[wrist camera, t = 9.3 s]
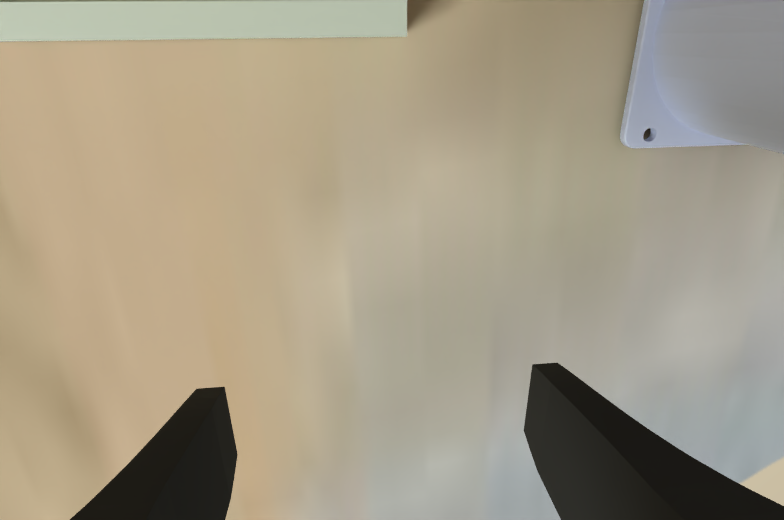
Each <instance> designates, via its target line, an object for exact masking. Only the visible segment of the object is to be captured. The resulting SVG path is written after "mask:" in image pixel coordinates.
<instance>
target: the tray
mask: <svg viewBox="0 0 784 520" xmlns="http://www.w3.org/2000/svg"><path fill="white" fill-rule="evenodd" d="M340 37H407V0H0V42H10V41H92V40H175V39H257V38H340Z"/></svg>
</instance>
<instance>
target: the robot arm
mask: <svg viewBox="0 0 784 520" xmlns="http://www.w3.org/2000/svg"><path fill="white" fill-rule="evenodd" d="M649 128H650V129H651V133H650V135H649V137H648V138H647V139H645V140H644V139H643V135H644V132H645V131H646V130H647V129H649ZM620 140H621V142H622V144H624V145H625V146H627V147H630V148H657V147H687V146H717V145H751V146H755V147H759V148H763V149H766V150H770V151H774V152H778V153H782V154H784V0H644V4H643V9H642V15H641V20H640V26H639V32H638V37H637V43H636V48H635V54H634V59H633V65H632V71H631V76H630V82H629V87H628V93H627V98H626V104H625V110H624V115H623V121H622V126H621V132H620ZM524 432H525V435H526V438H527V441H528V444H529V448H530V451H531V454H532V456H533V459H534V462H535V465H536V468H537V470H538V473H539V475H540V477H541V479H542V481H543V483H544V485H545V487H546V489H547V492H548V494H549V496H550V498H551V500H552V502H553V504H554V506H555V508H556V510H557V512H558V514H559V516H560V518H561V520H784V506H782V505H780V504H778V503H776V502H774V501H772V500H770V499H768V498H766V497H763V496H762V495H760V494H758V493H756V492H754V491H752V490H750V489H748V488H746V487H744V486H742V485H740V484H738V483H737V482H735V481H733V480H731V479H729V478H727V477H726V476H724V475H722V474H720V473H719V472H717V471H715V470H713V469H712V468H710V467H708V466H706V465H705V464H703V463H701V462H699V461H698V460H696V459H694V458H693V457H691V456H689V455H688V454H686V453H684V452H683V451H681V450H679V449H678V448H676V447H675V446H673V445H672V444H670V443H669V442H667V441H666V440H664V439H663V438H661V437H660V436H658V435H656V434H655V433H653V432H652V431H650V430H649V429H647V428H646V427H645V426H643V425H642V424H640V423H639V422H637V421H636V420H634V419H633V418H632V417H630V416H629V415H627V414H626V413H625V412H623V411H622V410H620V409H619V408H618V407H616V406H615V405H614V404H612V403H611V402H610V401H608V400H607V399H606V398H604V397H603V396H601V395H600V394H599V393H598V392H596V391H595V390H594V389H592V388H591V387H590V386H588V385H587V384H586V383H584V382H583V381H582V380H580V379H579V378H578V377H576V376H575V375H574V374H572V373H571V372H570V371H568V370H567V369H565V368H564V367H563V366H561V365H560V364H558V363H547V364H533V365H532V372H531V380H530V388H529V395H528V403H527V410H526V418H525V426H524ZM236 460H237V450H236V445H235V440H234V434H233V429H232V424H231V419H230V413H229V408H228V403H227V398H226V392H225V387H215V388H202V389H196V390H195V391H194V392H193V393H192V395H191V396H190V397H189V398H188V399H187V400H186V401H185V402H184V403H183V404H182V406H181V407H180V408H179V409H178V410H177V411H176V412H175V413H174V415H173V416H172V417H171V418H170V419H169V420H168V421H167V422H166V424H165V425H164V426H163V427H162V428H161V429H160V430H159V431H158V433H157V434H156V435H155V436H154V437H153V438H152V439H151V440H150V441H149V442H148V443H147V444H146V445H145V447H144V448H143V449H142V450H141V451H140V452H139V453H138V454H137V455H136V456H135V457H134V458H133V459H132V460H131V461H130V463H129V464H128V465H127V466H126V467H125V468H124V469H123V470H122V471H121V472H120V473H119V474H118V475H117V476H116V477H115V478H114V479H113V480H112V481H110V482H109V483H108V484H107V485H106V486H105V487H104V488H103V489H102V490H101V491H100V492H99V493H98V494H97V495H96V496H95V497H94V498H93V499H92V500H91V501H90V502H89V503H88V504H87V505H86V506H85V507H83V508H82V509H81V510H80V511H79V512H78V513H77V514H76V515H75V516H73V517H72V518H71V519H70V520H225V518H226V514H227V510H228V507H229V503H230V499H231V493H232V487H233V481H234V474H235V467H236Z"/></svg>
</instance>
